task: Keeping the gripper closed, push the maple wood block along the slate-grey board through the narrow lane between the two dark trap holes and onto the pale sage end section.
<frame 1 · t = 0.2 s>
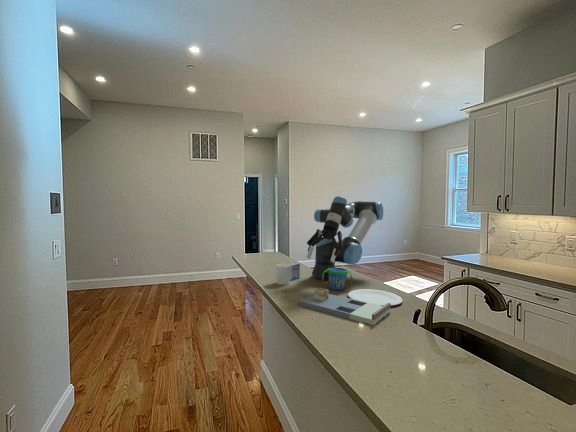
hand: (319, 259, 158), 16 cm above the table, tool tilted 35°, fingers open, 13 cm apart
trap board: (343, 308, 136), on the table
plate: (374, 300, 151), on the table
snack cup: (336, 289, 167), on the table
medicine box: (292, 279, 185), on the table
maple block: (321, 298, 142), point 2 cm above the table, touching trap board
white cup: (282, 283, 174), on the table
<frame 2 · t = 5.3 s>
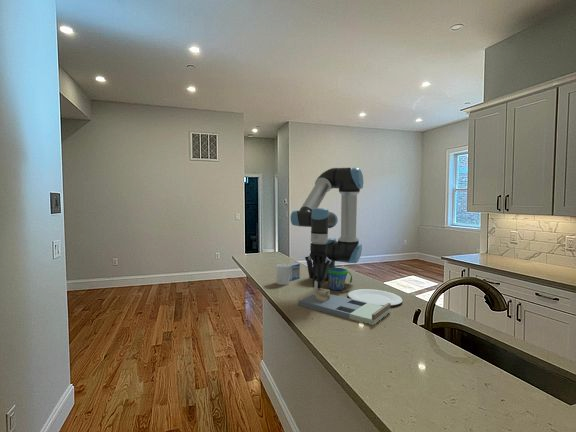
hand: (316, 294, 143), 3 cm above the table, tool pointing down, fingers closed
maple block: (322, 299, 142), point 2 cm above the table, touching gripper
everything else where it was.
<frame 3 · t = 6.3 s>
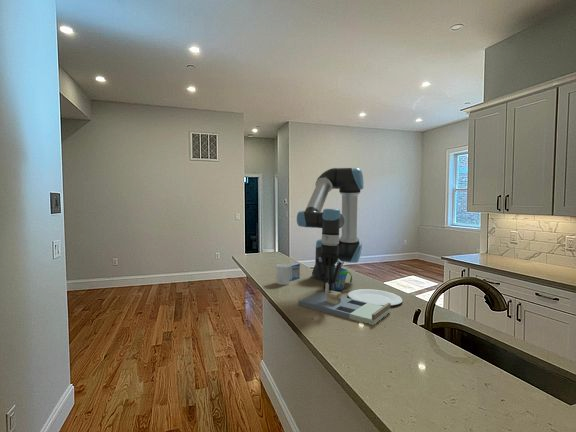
hand: (327, 297, 140), 3 cm above the table, tool pointing down, fingers closed
maple block: (333, 301, 138), point 2 cm above the table, touching gripper
everything else where it was.
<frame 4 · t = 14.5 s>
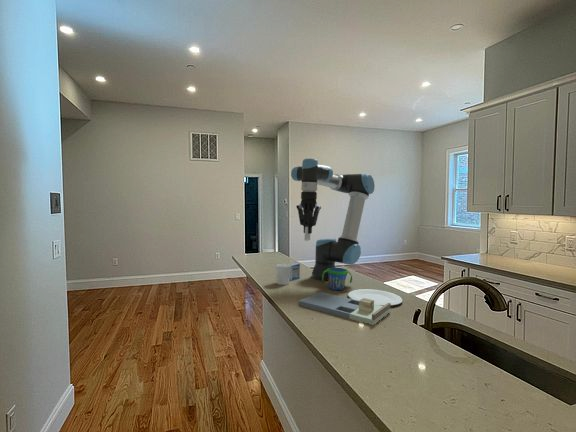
hand: (307, 240, 154), 26 cm above the table, tool pointing down, fingers closed
maple block: (366, 310, 129), point 2 cm above the table, touching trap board
everything else where it was.
at the end: maple block inside the target area on the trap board (1.5 cm from its centre), point 2.0 cm above the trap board's base; maple block point 2.0 cm above the table; maple block tilted 0° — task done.
